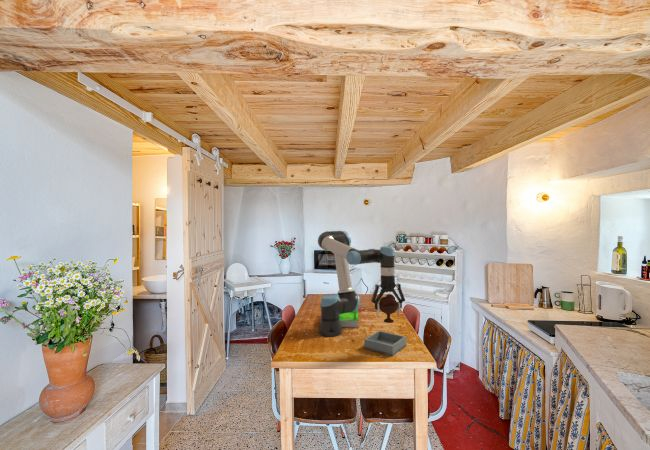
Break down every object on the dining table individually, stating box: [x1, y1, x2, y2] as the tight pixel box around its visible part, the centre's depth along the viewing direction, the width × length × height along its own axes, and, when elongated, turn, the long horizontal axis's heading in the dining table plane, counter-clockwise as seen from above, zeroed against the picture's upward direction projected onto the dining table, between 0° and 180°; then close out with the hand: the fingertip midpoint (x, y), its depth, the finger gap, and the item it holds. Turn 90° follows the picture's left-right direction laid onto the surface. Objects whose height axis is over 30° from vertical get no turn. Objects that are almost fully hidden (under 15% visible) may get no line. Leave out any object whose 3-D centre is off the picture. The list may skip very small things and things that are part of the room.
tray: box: [339, 309, 359, 328], centre depth 219 cm, size 25×25×5 cm
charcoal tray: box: [363, 330, 407, 357], centre depth 172 cm, size 17×17×5 cm
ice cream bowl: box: [378, 293, 398, 324], centre depth 171 cm, size 11×11×15 cm
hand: (388, 314), depth 171 cm, fingers closed on ice cream bowl, 11 cm apart
